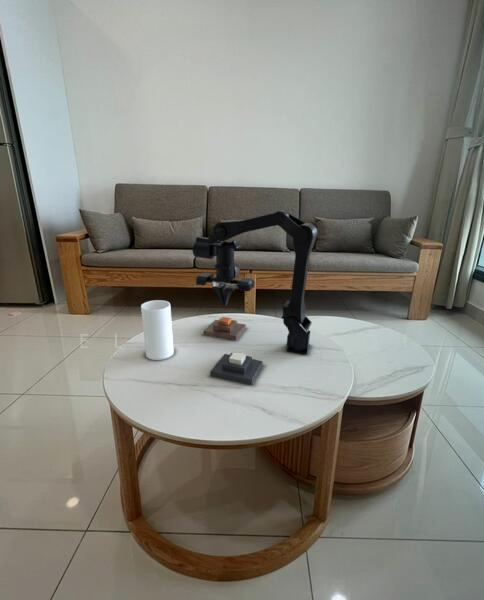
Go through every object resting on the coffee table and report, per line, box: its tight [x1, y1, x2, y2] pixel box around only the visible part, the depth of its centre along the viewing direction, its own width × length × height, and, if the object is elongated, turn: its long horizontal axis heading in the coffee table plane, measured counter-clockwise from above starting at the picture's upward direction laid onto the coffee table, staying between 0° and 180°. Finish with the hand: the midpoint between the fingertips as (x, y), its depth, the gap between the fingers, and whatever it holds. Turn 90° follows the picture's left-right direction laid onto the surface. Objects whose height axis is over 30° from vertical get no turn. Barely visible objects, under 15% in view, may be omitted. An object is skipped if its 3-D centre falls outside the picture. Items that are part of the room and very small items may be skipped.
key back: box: [218, 316, 233, 326], centre depth 113 cm, size 4×4×2 cm
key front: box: [229, 351, 247, 365], centre depth 90 cm, size 4×4×2 cm
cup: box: [140, 299, 175, 361], centre depth 97 cm, size 8×8×16 cm
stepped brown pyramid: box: [203, 317, 247, 341], centre depth 114 cm, size 12×10×4 cm
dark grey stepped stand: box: [210, 352, 264, 386], centre depth 91 cm, size 12×10×4 cm
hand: (225, 305), depth 109 cm, fingers closed
